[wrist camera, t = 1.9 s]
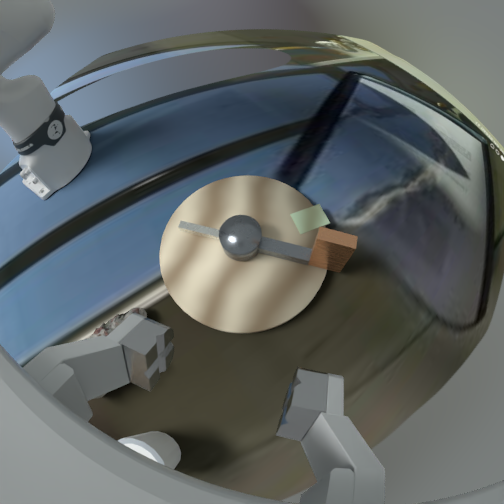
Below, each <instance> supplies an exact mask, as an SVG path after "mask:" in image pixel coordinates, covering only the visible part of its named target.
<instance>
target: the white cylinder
mask: <svg viewBox="0 0 504 504" xmlns="http://www.w3.org/2000/svg"><path fill="white" fill-rule="evenodd" d="M118 442H120V443H122V444H123V445H125V446H127V447H129V448H131V449H132V450H134V451H136V452H138V453H140V454H142V455H144V456H146V457H148V458H150V459H152V460H154V461H156V462H158V463H160V464H163V465H165V466H167V467H169V468H172V469H175V467H176V466H177V464H178V463H179V461H180V459H181V451H180V448H179V445H178V444H177V443H176V441H175V440H174V439H173V438H172V437H170V436H169V435H167V434H166V433H162V432H159V431H154V432H147V433H143V434H139V435H135V436H130V437H126V438H122V439H120V440H118Z"/></svg>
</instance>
